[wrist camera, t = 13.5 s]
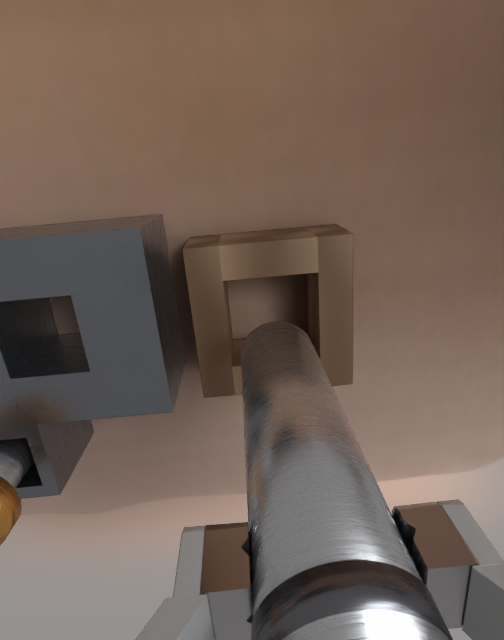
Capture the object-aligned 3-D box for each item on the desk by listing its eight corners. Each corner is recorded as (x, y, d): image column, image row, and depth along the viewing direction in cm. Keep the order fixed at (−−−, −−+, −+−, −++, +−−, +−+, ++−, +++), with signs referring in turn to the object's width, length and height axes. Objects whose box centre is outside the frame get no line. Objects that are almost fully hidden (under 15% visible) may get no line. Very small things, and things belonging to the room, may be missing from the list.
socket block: (162, 214, 24) (139, 227, 18) (195, 423, 29) (185, 483, 24) (-46, 232, 24) (-132, 252, 18) (25, 438, 29) (-25, 502, 24)
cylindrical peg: (313, 316, 18) (485, 624, 6) (315, 384, 19) (460, 755, 7) (236, 324, 18) (244, 649, 6) (243, 391, 19) (262, 777, 7)
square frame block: (335, 223, 24) (353, 233, 21) (336, 355, 28) (352, 384, 24) (190, 237, 24) (182, 249, 21) (208, 366, 28) (203, 397, 24)
